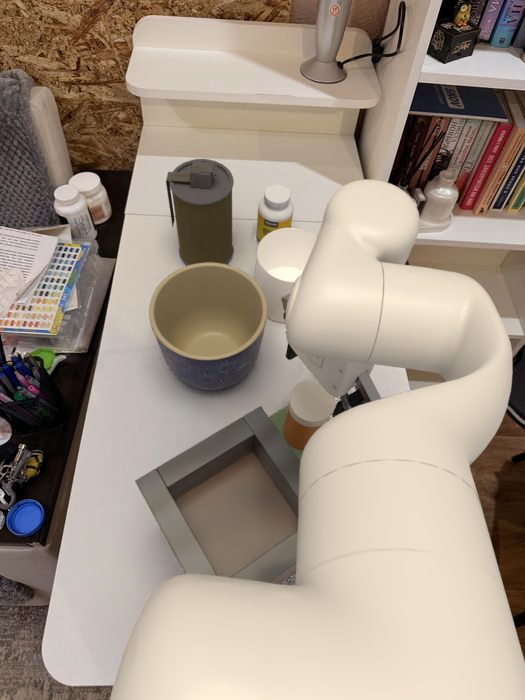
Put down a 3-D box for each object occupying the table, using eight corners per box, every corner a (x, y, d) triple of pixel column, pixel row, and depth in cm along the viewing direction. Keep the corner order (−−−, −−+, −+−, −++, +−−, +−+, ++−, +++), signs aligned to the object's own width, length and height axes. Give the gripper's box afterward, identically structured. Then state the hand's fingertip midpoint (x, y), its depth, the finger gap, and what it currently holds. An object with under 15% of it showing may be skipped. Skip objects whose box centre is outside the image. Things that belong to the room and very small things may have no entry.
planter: (151, 398, 82) (136, 351, 69) (172, 311, 91) (162, 255, 78) (256, 411, 82) (260, 366, 69) (267, 323, 91) (273, 268, 77)
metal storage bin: (316, 557, 72) (346, 526, 53) (218, 629, 67) (213, 624, 48) (253, 463, 78) (260, 405, 59) (160, 522, 73) (134, 480, 54)
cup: (307, 331, 90) (317, 291, 80) (245, 313, 91) (246, 270, 81) (324, 281, 96) (335, 237, 86) (265, 264, 97) (269, 219, 87)
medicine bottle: (329, 437, 80) (344, 406, 70) (297, 458, 78) (307, 430, 68) (306, 406, 82) (316, 372, 72) (274, 426, 81) (280, 394, 70)
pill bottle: (252, 246, 99) (255, 202, 89) (260, 222, 102) (263, 177, 92) (285, 253, 99) (291, 209, 89) (292, 229, 102) (298, 184, 92)
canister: (236, 233, 101) (236, 148, 83) (230, 274, 96) (230, 193, 78) (181, 228, 101) (170, 142, 83) (172, 269, 95) (159, 187, 78)
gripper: (263, 257, 51) (256, 345, 66) (373, 387, 45) (338, 453, 59) (322, 229, 54) (302, 320, 69) (435, 348, 47) (386, 421, 62)
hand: (319, 381), depth 64 cm, fingers open, 9 cm apart
